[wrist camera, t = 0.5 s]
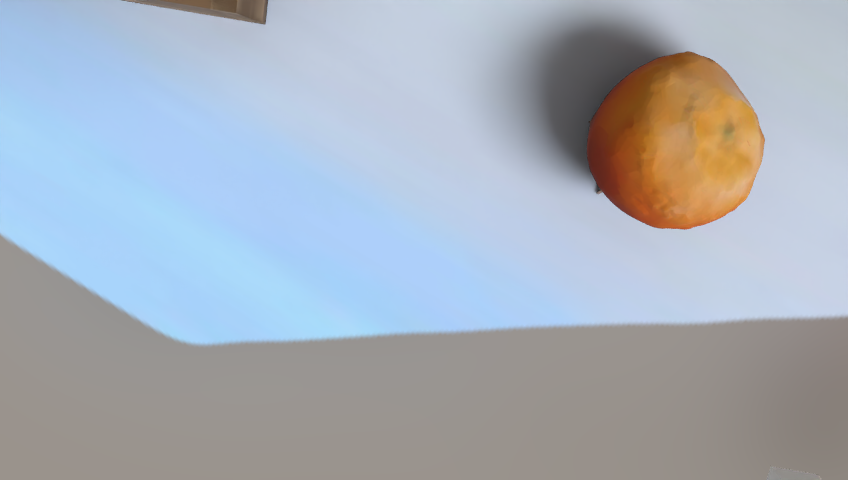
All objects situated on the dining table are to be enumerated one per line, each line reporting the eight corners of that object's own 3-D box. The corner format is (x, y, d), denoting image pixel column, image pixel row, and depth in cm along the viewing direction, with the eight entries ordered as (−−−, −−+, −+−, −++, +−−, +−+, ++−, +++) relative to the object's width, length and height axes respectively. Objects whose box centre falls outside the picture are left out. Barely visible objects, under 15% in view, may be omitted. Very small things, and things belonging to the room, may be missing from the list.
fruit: (523, 104, 33) (641, 69, 25) (634, 61, 36) (766, 20, 29) (570, 251, 34) (694, 258, 27) (673, 198, 37) (808, 191, 30)
